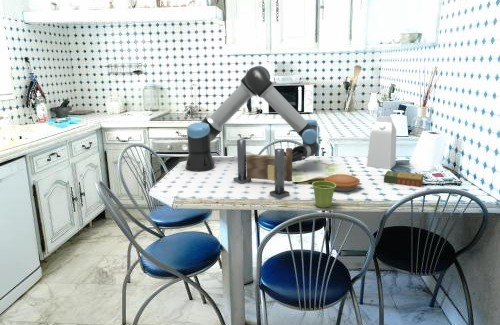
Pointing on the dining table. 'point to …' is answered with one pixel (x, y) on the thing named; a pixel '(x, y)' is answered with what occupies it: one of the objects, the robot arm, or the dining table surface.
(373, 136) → the milk
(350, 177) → the pie
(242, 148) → the gate posts
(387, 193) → the dining table surface
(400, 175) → the carton
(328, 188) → the plant pot
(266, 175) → the gate
